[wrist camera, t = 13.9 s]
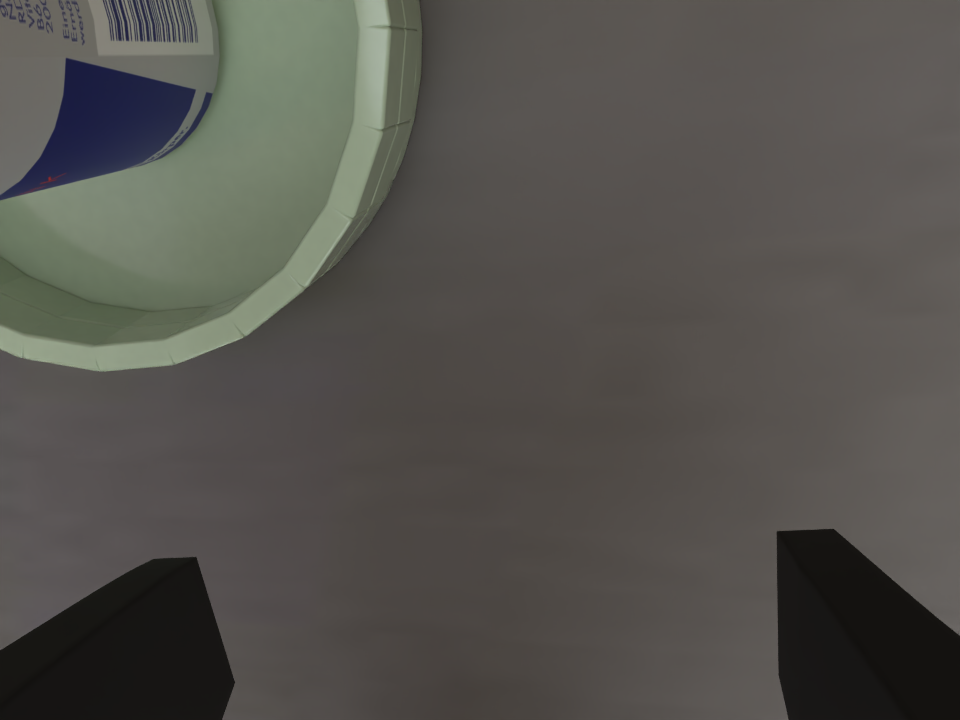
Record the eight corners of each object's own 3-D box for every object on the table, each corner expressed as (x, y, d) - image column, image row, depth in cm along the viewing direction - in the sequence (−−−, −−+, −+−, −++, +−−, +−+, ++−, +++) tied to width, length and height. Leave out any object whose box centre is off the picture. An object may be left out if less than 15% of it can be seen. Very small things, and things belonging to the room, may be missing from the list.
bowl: (466, 297, 18) (443, 342, 15) (-34, 347, 20) (-132, 393, 18) (356, -431, 14) (295, -554, 11) (-268, -264, 16) (-449, -330, 13)
